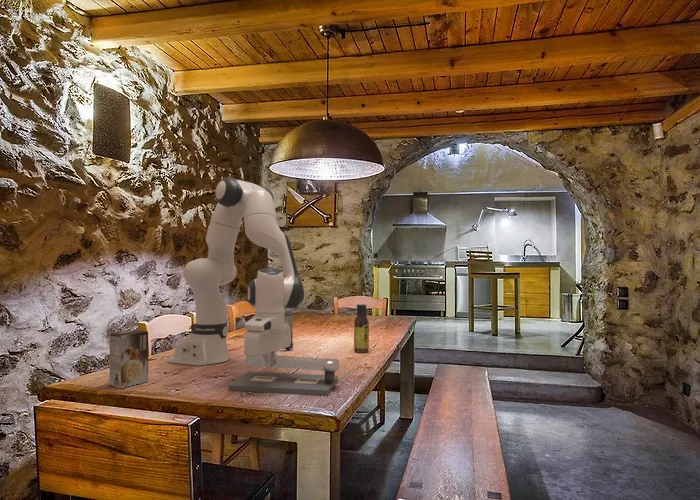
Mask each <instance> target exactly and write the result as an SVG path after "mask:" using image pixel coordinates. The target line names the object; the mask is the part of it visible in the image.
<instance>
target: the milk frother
mask: <svg viewBox="0 0 700 500" xmlns="http://www.w3.org/2000/svg"><path fill="white" fill-rule="evenodd" d="M284 318H286V319H287V320H288V321H289V325H290V328H291V345H290V346H289V347H286V348H284V349H285V350H286V351H289V350H290V349H292V350H293V349H294V343H293V342H294V341H293V328H294V327H293V326H294V322H293V321H294V319H293V318H294V312H292V311H285V317H284Z"/></svg>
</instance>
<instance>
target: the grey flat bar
mask: <svg viewBox="0 0 700 500" xmlns="http://www.w3.org/2000/svg"><path fill="white" fill-rule="evenodd" d="M244 360H245V361H244V365H245V366H251V367H264V368H266V367H265V361H264V359H263V357H262V356H259V357H256V358H252V357H247V356H245V357H244ZM271 368H279V369H290V370H295V369H296V370H307V371H308V370H309V371H320V372H321V371H322V372H325V371H335V372H337V371H339V369H340V359H337V358H321V357H309V356H308V357H305V356H292V355H291V356H290V355H277V354H276V356H275V359H274V366H272V367H271Z"/></svg>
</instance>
